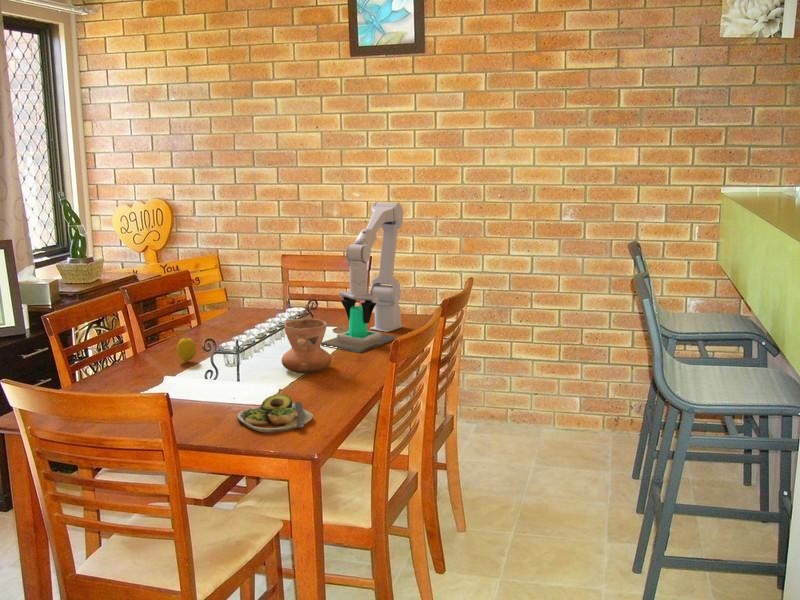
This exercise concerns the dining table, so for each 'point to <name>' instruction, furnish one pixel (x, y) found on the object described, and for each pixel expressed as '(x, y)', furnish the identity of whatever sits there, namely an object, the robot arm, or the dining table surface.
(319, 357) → the ceramic jug
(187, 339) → the lemon
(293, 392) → the dining table surface
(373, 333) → the candle base
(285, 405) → the salad plate
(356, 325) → the candle
